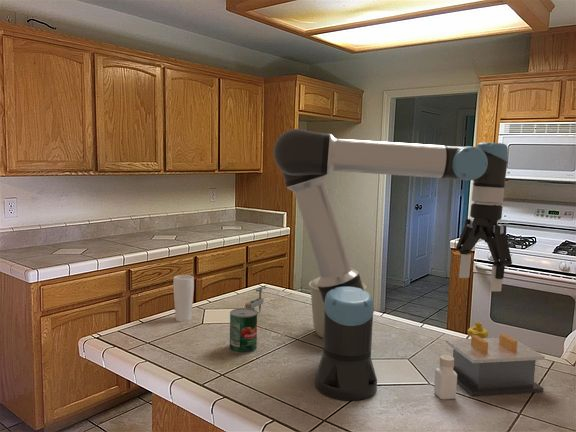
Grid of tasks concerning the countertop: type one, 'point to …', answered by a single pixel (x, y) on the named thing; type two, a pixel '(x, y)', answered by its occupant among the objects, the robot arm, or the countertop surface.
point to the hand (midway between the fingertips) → (478, 284)
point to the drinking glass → (183, 297)
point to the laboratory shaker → (494, 365)
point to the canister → (318, 307)
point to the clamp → (256, 300)
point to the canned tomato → (243, 330)
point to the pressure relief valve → (478, 331)
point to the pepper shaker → (445, 378)
